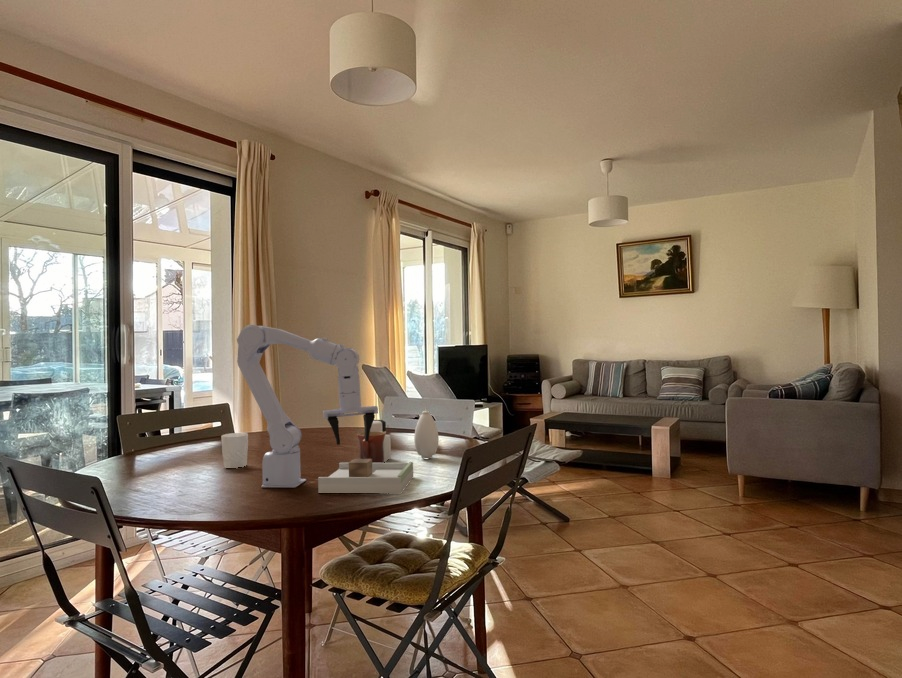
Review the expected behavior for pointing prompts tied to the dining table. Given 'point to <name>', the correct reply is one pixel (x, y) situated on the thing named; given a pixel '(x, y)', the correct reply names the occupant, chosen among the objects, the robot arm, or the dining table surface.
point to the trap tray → (368, 479)
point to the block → (360, 468)
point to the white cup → (234, 449)
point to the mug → (372, 446)
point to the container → (381, 426)
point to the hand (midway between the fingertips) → (352, 442)
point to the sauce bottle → (426, 435)
